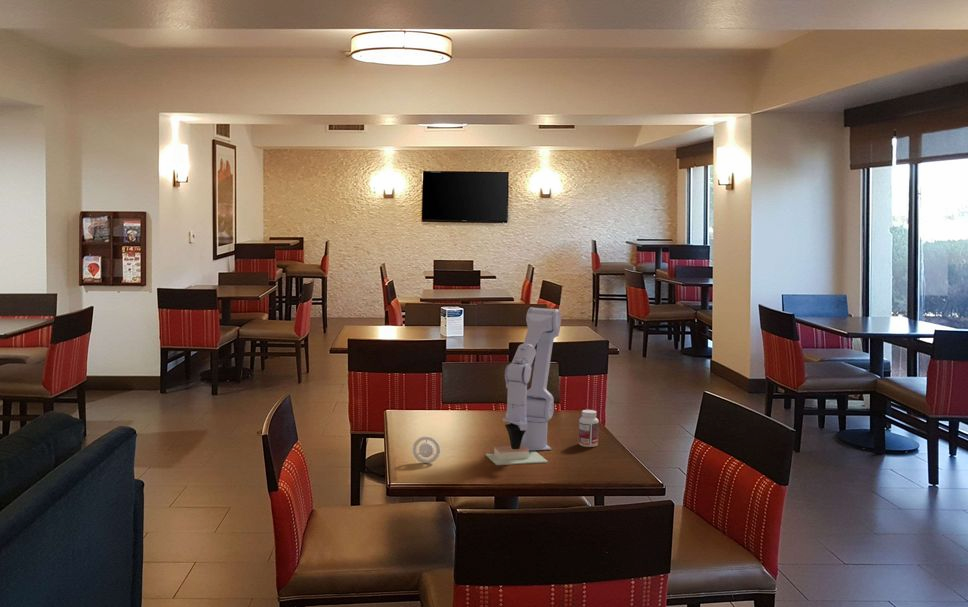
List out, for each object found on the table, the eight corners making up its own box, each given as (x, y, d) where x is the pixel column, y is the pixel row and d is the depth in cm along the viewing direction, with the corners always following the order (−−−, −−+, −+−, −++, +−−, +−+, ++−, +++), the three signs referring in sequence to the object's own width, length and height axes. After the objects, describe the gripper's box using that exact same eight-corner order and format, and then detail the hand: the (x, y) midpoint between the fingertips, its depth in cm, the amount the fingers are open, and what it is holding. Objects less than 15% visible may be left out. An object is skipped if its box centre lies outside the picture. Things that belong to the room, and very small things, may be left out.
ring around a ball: (440, 462, 264) (441, 435, 263) (438, 467, 258) (438, 440, 257) (413, 460, 264) (413, 434, 263) (410, 466, 259) (411, 439, 258)
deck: (499, 459, 267) (494, 454, 272) (528, 458, 269) (522, 452, 275) (500, 451, 266) (494, 446, 272) (528, 450, 269) (522, 445, 275)
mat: (485, 455, 273) (485, 453, 273) (535, 452, 277) (535, 451, 277) (496, 465, 262) (496, 463, 262) (547, 462, 267) (547, 461, 267)
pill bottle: (594, 442, 292) (595, 409, 291) (600, 447, 286) (601, 413, 285) (576, 442, 291) (577, 409, 290) (581, 447, 285) (582, 413, 284)
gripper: (496, 399, 272) (495, 443, 273) (511, 409, 258) (510, 455, 259) (518, 398, 274) (517, 441, 275) (534, 408, 260) (533, 454, 261)
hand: (515, 448), depth 268 cm, fingers closed
